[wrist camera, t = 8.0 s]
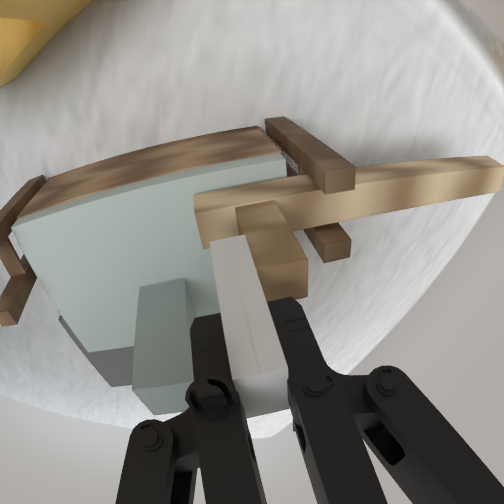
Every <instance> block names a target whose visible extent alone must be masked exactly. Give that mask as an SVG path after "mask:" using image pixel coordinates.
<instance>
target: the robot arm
mask: <svg viewBox="0 0 504 504" xmlns="http://www.w3.org/2000/svg"><path fill="white" fill-rule="evenodd" d="M210 248H211V255H212V261H213V268H214V275H215V281H216V287H217V294H218V300H219V306H220V312H221V313H216V314H211V315H206V316H201V317H196V318H194V320H193V323H192V325H191V328H190V341H191V352H192V365H193V376H194V382H192V383H191V384H190V386H189V387H188V389H187V390H186V395H185V401H186V402H187V404H188V405H189V408H188V409H187V410H186V411H185V412H183V413H181V414H180V415H178V416H176V417H173V418H171V419H169V420H167V421H165V422H162V421H158V420H155V419H153V420H145V421H143V422H141V423H139V424H138V425H137V426H136V427H135V428H134V429H133V431H132V433H131V435H130V438H129V443H128V447H127V451H126V456H125V460H124V465H123V470H122V474H121V479H120V484H119V489H118V494H117V499H116V504H193V500H194V492H195V484H196V476H197V468H199V467H200V469H201V475H202V482H203V488H204V494H205V500H206V504H267V502H266V498H265V494H264V490H263V486H262V482H261V478H260V473H259V470H258V465H257V461H256V456H255V452H254V448H253V443H252V439H251V435H250V432H249V429H248V424H247V420H246V418H250V417H255V416H259V415H264V414H269V413H273V412H277V411H281V410H285V409H289V406H290V409H291V413H292V416H293V431H296V435H297V438H298V441H299V445H300V448H301V451H302V455H303V458H304V461H305V464H306V468H307V471H308V474H309V478H310V481H311V484H312V487H313V491H314V494H315V497H316V500H317V503H318V504H387V501H386V498H385V495H384V493H383V490H382V488H381V485H380V483H379V480H378V477H377V475H376V472H375V469H374V467H373V464H372V462H371V459H370V457H369V454H368V452H367V449H366V447H365V444H364V442H363V440H364V441H365V442H366V444H367V445H368V446H369V448H370V449H371V450H372V452H373V453H374V454H375V455H376V457H377V458H378V459H379V461H380V462H381V463H382V464H383V466H384V467H385V469H386V470H387V471H388V472H389V474H390V475H391V476H392V478H393V479H394V480H395V482H396V483H397V484H398V485H399V487H400V488H401V489H402V491H403V492H404V493H405V494H406V496H407V497H408V498H409V500H410V501H411V502H412V503H413V504H504V487H503V486H502V484H501V483H500V482H499V481H498V480H497V478H496V477H495V476H494V475H493V474H492V472H491V471H490V470H489V469H488V468H487V466H486V465H485V464H484V463H483V462H482V461H481V459H480V458H479V457H478V456H477V455H476V453H475V452H474V451H473V450H472V449H471V448H470V447H469V445H468V444H467V443H466V442H465V441H464V439H463V438H462V437H461V436H460V435H459V434H458V432H456V430H455V429H454V428H453V427H452V426H451V424H450V423H449V422H448V421H447V420H446V419H445V418H444V417H443V415H442V414H441V413H440V412H439V411H438V410H437V409H436V407H435V406H434V405H433V404H432V403H431V402H430V401H429V400H428V398H427V397H426V396H425V395H424V394H423V393H422V392H421V391H420V390H419V388H418V387H417V386H416V385H415V384H414V383H413V382H412V381H411V380H410V378H408V376H407V375H406V374H405V373H404V372H403V371H401V370H400V369H399V368H397V367H393V366H380V367H378V368H376V369H374V370H373V371H372V372H371V373H370V374H369V375H351V376H350V375H343V374H340V373H337V372H335V371H334V370H332V369H331V368H330V367H329V366H328V365H327V364H326V362H325V360H324V358H323V356H322V353H321V351H320V348H319V346H318V344H317V341H316V339H315V337H314V334H313V332H312V329H311V328H310V325H309V322H308V320H307V319H306V315H305V313H304V311H303V308H302V306H301V305H300V304H299V303H298V302H297V301H296V300H295V299H294V298H292V297H286V298H282V299H278V300H273V301H269V302H266V299H265V295H264V292H263V289H262V286H261V283H260V280H259V277H258V274H257V271H256V268H255V265H254V262H253V259H252V255H251V252H250V249H249V246H248V243H247V240H246V237H245V235H240V236H235V237H230V238H225V239H220V240H215V241H211V242H210ZM362 438H363V439H362Z"/></svg>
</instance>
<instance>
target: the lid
mask: <svg viewBox="0 0 504 504" xmlns="http://www.w3.org/2000/svg"><path fill="white" fill-rule="evenodd" d="M286 177H287V171H286V159H285V158H284V157H283V156H282V155H281V154H280V153H275V154H269V155H263V156H256V157H251V158H245V159H239V160H234V161H228V162H223V163H218V164H213V165H208V166H203V167H198V168H193V169H189V170H184V171H180V172H175V173H171V174H166V175H162V176H158V177H154V178H150V179H146V180H142V181H138V182H134V183H130V184H126V185H123V186H119V187H115V188H112V189H108V190H105V191H101V192H98V193H94V194H91V195H87V196H84V197H81V198H78V199H74V200H71V201H68V202H65V203H62V204H59V205H56V206H53V207H50V208H47V209H44V210H41V211H38V212H35V213H32V214H29V215H27V216H24V217H21V218H18V219H17V220H16V222H15V223H14V224H13V226H12V227H11V229H12V231H13V233H14V235H15V237H16V239H17V241H18V243H19V245H20V247H21V249H22V251H23V253H24V254H25V256H26V258H27V260H28V262H29V264H30V265H31V267H32V269H33V271H34V272H35V274H36V276H37V278H38V279H39V281H40V283H41V284H42V286H43V288H44V289H45V291H46V292H47V294H48V296H49V297H50V299H51V300H52V302H53V303H54V305H55V306H56V308H57V309H58V311H59V312H60V314H61V315H62V317H63V318H64V320H65V321H66V323H67V324H68V326H69V327H70V328H71V330H72V331H73V333H74V334H75V335H76V337H77V338H78V339H79V341H80V342H81V343H82V345H83V346H84V347H85V349H86V350H87V351H88V352H95V351H103V350H110V349H117V348H124V347H131V346H134V357H133V377H132V390H133V392H134V393H135V394H136V395H137V396H138V397H139V399H140V400H141V401H142V402H143V403H144V404H145V405H146V407H147V408H148V409H149V410H150V411H151V412H152V413H153V414H154V415H161V414H169V413H177V412H184V411H186V410H187V409H188V408H189V405H188V404H187V402H186V401H185V395H186V390H187V389H188V387H189V386H190V384H191V383H192V382H194V376H193V365H192V352H191V341H190V328H191V325H192V323H193V320H194V318H196V317H201V316H206V315H211V314H216V313H221V312H220V306H219V300H218V294H217V287H216V281H215V275H214V268H213V261H212V255H211V248H209V249H205V250H203V246H202V243H201V238H200V234H199V230H198V226H197V222H196V218H195V214H194V201H193V195H196V194H201V193H206V192H210V191H215V190H220V189H225V188H230V187H236V186H241V185H246V184H252V183H257V182H263V181H268V180H274V179H280V178H286Z"/></svg>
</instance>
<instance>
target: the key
mask: <svg viewBox="0 0 504 504" xmlns="http://www.w3.org/2000/svg"><path fill="white" fill-rule="evenodd" d="M503 177H504V165H502V164H500V163H499V162H497V161H495V160H494V159H492V158H490V157H488V156H472V157H455V158H441V159H429V160H417V161H407V162H397V163H387V164H378V165H370V166H362V167H356V176H355V190H350V191H344V192H338V193H332V194H326V195H325V194H324V192H323V191H322V190H321V189H320V188H319V187H318V186H317V185H316V184H315V183H314V182H313V180H312V179H311V178H310V177H309V176H308V175H307V174H305V175H298V176H292V177H286V178H280V179H274V180H268V181H263V182H257V183H252V184H246V185H241V186H236V187H230V188H225V189H220V190H215V191H210V192H206V193H201V194H196V195H193V201H194V214H195V218H196V222H197V226H198V230H199V234H200V238H201V243H202V246H203V250H205V249H209V248H210V242H211V241H215V240H220V239H225V238H230V237H235V236H240V235H245V237H246V240H247V243H248V246H249V249H250V252H251V255H252V259H253V262H254V265H255V268H256V271H257V274H258V277H259V280H260V283H261V286H262V289H263V292H264V295H265V299H266V302H269V301H273V300H278V299H282V298H286V297H292V298H294V299H295V300H296V299H300V298H305V297H308V259H307V257H306V255H305V253H304V251H303V250H302V248H301V246H300V244H299V242H298V241H297V239H296V237H295V235H294V234H293V232H292V231H296V230H301V229H306V228H311V227H316V226H321V225H326V224H331V223H336V222H341V221H346V220H351V219H356V218H361V217H367V216H372V215H377V214H382V213H387V212H392V211H398V210H403V209H408V208H413V207H419V206H424V205H429V204H434V203H440V202H445V201H450V200H456V199H461V198H467V197H472V196H478V195H483V194H489V193H494V192H500V190H501V186H502V181H503Z"/></svg>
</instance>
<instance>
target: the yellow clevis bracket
mask: <svg viewBox="0 0 504 504" xmlns="http://www.w3.org/2000/svg"><path fill="white" fill-rule="evenodd" d="M92 1H93V0H0V86H3V85H5V84H7V83H9V82H10V81H12V80H13V79H14V78H16V77H17V76H18V75H19V74H20V73H21V72H22V71H23V70H24V69H25V68H26V66H27V65H28V64H29V63H30V62H31V61H32V59H33V58H34V57H35V56H36V55H37V54H38V53H39V52H40V50H41V49H42V48H43V47H44V46H45V45H46V44H47V43H48V42H49V41H50V40H51V39H52V38H53V37H54V36H55V35H56V34H57V33H58V32H59V31H60V30H61V29H62V28H63V27H64V26H65V25H66V24H67V23H68V22H69V21H70V20H71V19H72V18H74V17H75V16H76V15H77V14H78V13H79V12H80V11H81V10H82V9H84V8H85V7H86V6H87V5H88V4H89V3H91V2H92Z"/></svg>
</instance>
